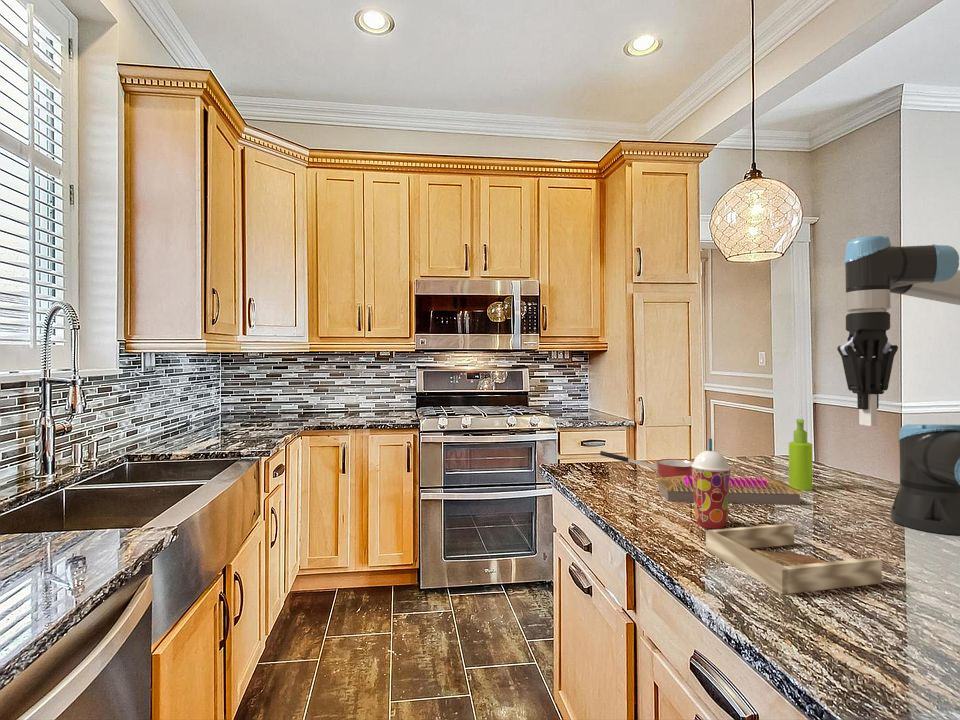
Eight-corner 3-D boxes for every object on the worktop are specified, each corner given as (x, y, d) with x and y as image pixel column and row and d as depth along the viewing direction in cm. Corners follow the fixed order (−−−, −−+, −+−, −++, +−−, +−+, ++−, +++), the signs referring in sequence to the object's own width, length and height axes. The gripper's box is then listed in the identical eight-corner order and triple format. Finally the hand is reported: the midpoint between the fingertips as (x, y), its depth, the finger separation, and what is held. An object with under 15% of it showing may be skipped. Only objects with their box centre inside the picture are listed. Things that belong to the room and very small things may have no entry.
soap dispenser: (812, 486, 158) (812, 419, 158) (812, 491, 152) (811, 421, 152) (789, 483, 161) (789, 418, 161) (788, 488, 155) (788, 420, 155)
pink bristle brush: (781, 493, 152) (781, 471, 152) (805, 507, 138) (804, 483, 138) (654, 490, 157) (654, 469, 157) (665, 503, 142) (664, 481, 142)
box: (789, 542, 111) (789, 523, 111) (881, 583, 91) (881, 559, 91) (705, 550, 107) (705, 530, 107) (782, 594, 87) (782, 570, 87)
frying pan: (596, 474, 177) (596, 455, 177) (602, 466, 189) (602, 448, 189) (700, 481, 165) (700, 461, 165) (699, 473, 177) (699, 454, 177)
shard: (754, 556, 105) (754, 547, 105) (783, 551, 107) (783, 542, 107) (803, 577, 94) (803, 567, 94) (835, 572, 97) (835, 562, 97)
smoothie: (700, 517, 128) (700, 435, 128) (736, 525, 123) (736, 438, 122) (685, 525, 123) (684, 439, 123) (722, 533, 117) (721, 442, 117)
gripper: (876, 313, 116) (877, 422, 116) (825, 313, 113) (826, 424, 113) (910, 310, 108) (911, 426, 108) (857, 310, 106) (858, 428, 106)
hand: (868, 425), depth 111 cm, fingers closed
